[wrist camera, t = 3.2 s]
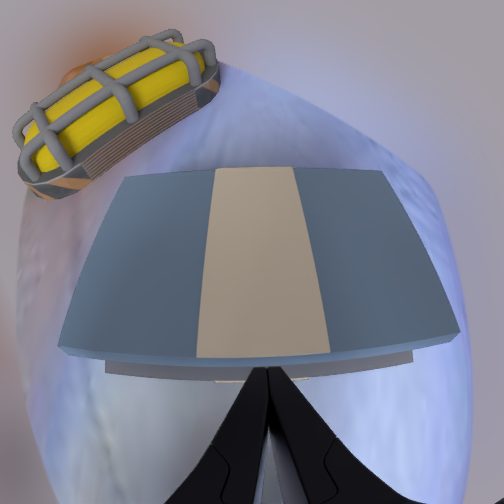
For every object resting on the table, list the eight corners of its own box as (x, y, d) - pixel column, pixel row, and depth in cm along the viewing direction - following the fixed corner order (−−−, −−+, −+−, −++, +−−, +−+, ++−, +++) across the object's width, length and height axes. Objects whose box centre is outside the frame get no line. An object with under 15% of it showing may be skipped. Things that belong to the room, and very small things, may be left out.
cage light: (-4, 128, 24) (176, 18, 33) (23, 163, 32) (182, 58, 40) (6, 184, 20) (240, 38, 28) (46, 224, 27) (242, 88, 35)
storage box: (371, 370, 21) (413, 363, 15) (144, 377, 21) (105, 374, 14) (352, 228, 26) (377, 183, 20) (155, 233, 26) (128, 189, 20)
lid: (450, 341, 11) (461, 330, 10) (68, 355, 11) (56, 344, 10) (378, 182, 20) (381, 169, 19) (128, 188, 20) (124, 176, 19)
